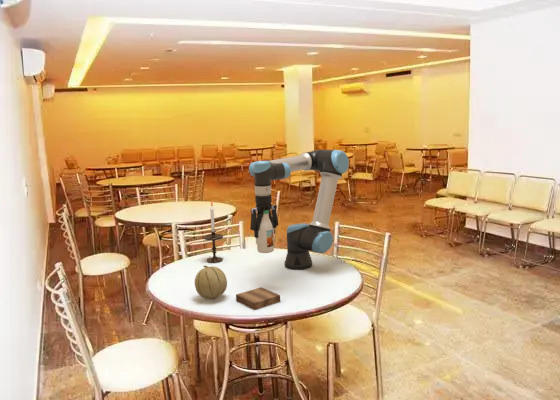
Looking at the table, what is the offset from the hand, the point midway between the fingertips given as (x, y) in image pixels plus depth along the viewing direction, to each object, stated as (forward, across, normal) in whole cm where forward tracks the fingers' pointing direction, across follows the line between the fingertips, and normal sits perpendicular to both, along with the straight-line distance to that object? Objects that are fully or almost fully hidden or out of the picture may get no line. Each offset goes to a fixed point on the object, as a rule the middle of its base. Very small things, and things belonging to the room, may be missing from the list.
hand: (265, 242), depth 231 cm
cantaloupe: (+22, -26, +7) cm, 35 cm away
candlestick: (+23, +6, +57) cm, 62 cm away
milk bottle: (+4, 0, 0) cm, 4 cm away
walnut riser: (+22, -13, -11) cm, 28 cm away
